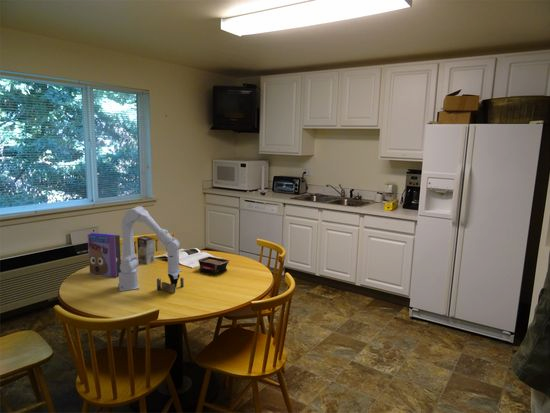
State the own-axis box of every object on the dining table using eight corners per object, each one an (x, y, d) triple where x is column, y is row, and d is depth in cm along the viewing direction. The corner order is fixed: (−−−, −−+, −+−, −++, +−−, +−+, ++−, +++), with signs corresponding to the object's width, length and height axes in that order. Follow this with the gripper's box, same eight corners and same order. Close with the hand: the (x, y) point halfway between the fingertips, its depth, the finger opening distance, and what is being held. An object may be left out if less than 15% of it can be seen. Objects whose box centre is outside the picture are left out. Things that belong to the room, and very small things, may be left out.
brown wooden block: (161, 289, 198) (161, 281, 197) (163, 288, 199) (163, 280, 198) (172, 293, 193) (172, 285, 193) (175, 292, 195) (175, 284, 194)
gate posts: (157, 290, 197) (156, 280, 196) (156, 289, 199) (156, 278, 197) (183, 287, 202) (183, 276, 201) (183, 286, 204) (183, 275, 203)
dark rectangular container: (212, 268, 239) (209, 253, 238) (234, 270, 229) (231, 254, 228) (196, 276, 227) (193, 260, 226) (218, 278, 217) (215, 262, 216)
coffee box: (137, 261, 242) (136, 237, 239) (145, 259, 247) (144, 235, 245) (147, 264, 237) (146, 240, 234) (155, 262, 243) (154, 237, 240)
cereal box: (90, 274, 218) (87, 234, 214) (95, 271, 222) (93, 232, 218) (116, 277, 214) (114, 236, 210) (121, 274, 218) (119, 234, 214)
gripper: (183, 266, 191) (184, 291, 194) (178, 257, 204) (179, 281, 207) (169, 267, 188) (170, 293, 191) (165, 259, 202) (166, 283, 204)
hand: (173, 287), depth 199 cm, fingers closed
